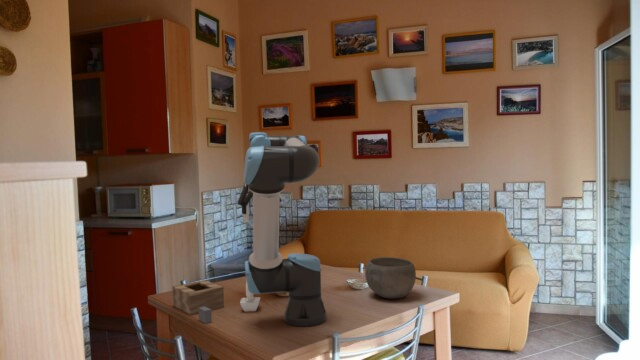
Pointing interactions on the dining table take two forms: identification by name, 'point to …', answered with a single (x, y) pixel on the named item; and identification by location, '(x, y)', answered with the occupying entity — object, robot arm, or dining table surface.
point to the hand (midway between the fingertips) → (260, 220)
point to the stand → (205, 314)
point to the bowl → (390, 276)
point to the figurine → (249, 301)
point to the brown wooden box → (198, 296)
